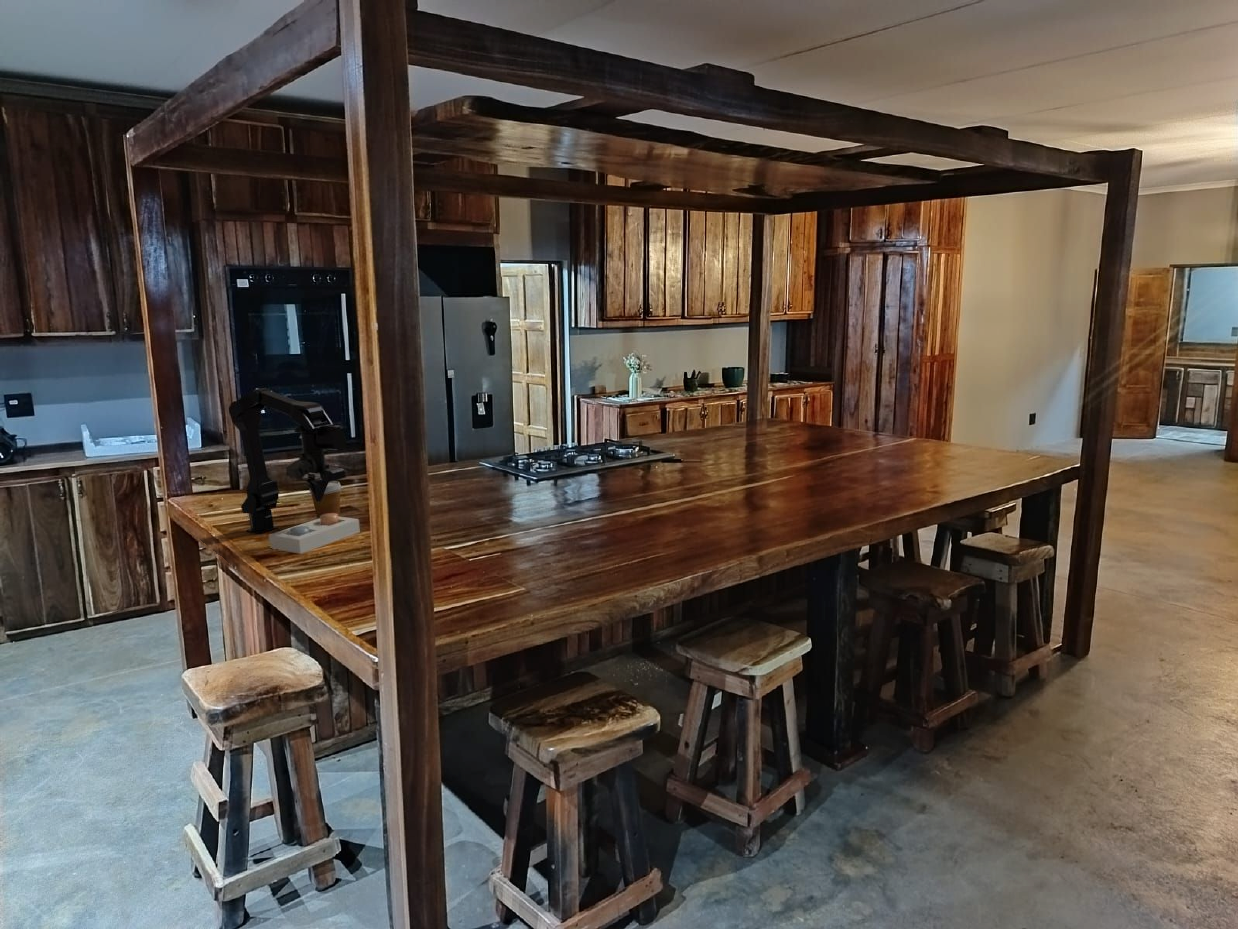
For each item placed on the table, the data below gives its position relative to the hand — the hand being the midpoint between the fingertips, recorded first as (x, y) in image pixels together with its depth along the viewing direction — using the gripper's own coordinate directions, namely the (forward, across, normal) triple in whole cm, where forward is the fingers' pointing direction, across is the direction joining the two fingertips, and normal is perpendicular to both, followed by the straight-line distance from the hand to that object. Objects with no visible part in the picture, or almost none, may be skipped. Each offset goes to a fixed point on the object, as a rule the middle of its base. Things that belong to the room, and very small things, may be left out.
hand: (318, 501), depth 241 cm
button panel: (+11, 0, -2) cm, 11 cm away
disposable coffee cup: (+11, -13, +13) cm, 22 cm away
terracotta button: (+8, 0, +3) cm, 9 cm away
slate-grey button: (+9, 0, -8) cm, 12 cm away
